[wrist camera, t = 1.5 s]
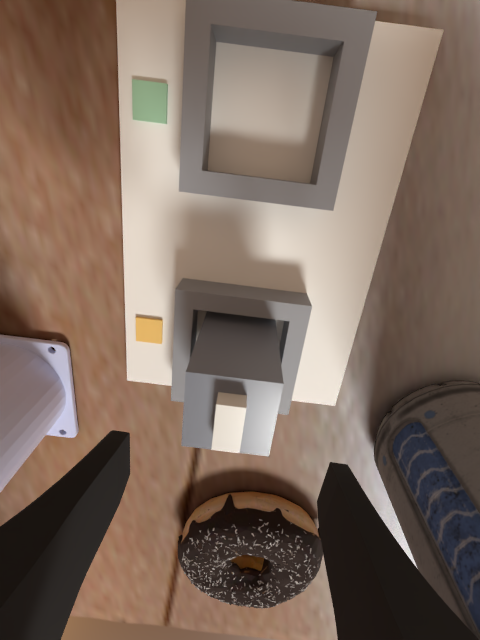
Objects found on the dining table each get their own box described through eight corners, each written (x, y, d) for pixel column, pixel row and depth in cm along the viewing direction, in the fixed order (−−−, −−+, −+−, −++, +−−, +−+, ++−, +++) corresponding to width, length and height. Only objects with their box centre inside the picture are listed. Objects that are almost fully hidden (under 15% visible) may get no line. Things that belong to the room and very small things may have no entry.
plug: (203, 363, 22) (177, 459, 15) (208, 307, 20) (181, 383, 13) (265, 371, 22) (269, 470, 15) (274, 315, 20) (285, 395, 13)
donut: (302, 573, 32) (308, 625, 28) (179, 557, 32) (169, 607, 28) (330, 493, 27) (341, 542, 24) (186, 474, 27) (175, 521, 24)
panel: (131, 373, 23) (115, 399, 21) (122, -4, 15) (94, -40, 12) (332, 398, 23) (341, 426, 21) (434, 36, 15) (471, 9, 12)
